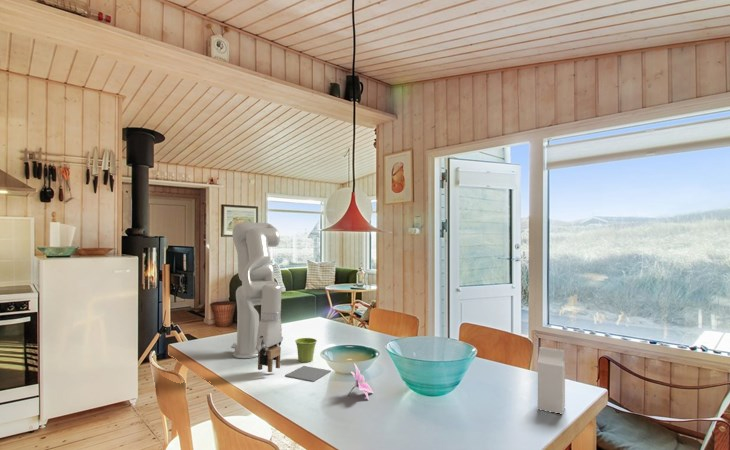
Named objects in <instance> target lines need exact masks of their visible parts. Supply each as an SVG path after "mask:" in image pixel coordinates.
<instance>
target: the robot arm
mask: <svg viewBox="0 0 730 450" xmlns="http://www.w3.org/2000/svg"><path fill="white" fill-rule="evenodd" d="M280 237H281V235H280V233H279V231H278V229H277V228H276V227H275V226H273V225H272V224H270V223H268V222H248V221H246V222H245V221H244V222H238V223H236V224H234V226H233V227H232V241H233V243H234V247H235V249H236V253H237V273H238V274H237V275H238V278H239V280H240V281H241V284H242V285H240V286H238V287H237V289H236V290H235V300H236V310H237V311H236V312H237V313H236V314H237V319H236V321H237V323H236V324H237V326H236V342H233V344H232V345H231V346H230V348H231V349H234V351H233V352H232V357H233V358H238V359H253V358H258V352H259V354H260V364H261V365H262V366H266V365H267V362H268V355H266V354H267V351H268V347H270V346H277V347H281V345H282V342H283V340H284V337H283V335H282V334H283V333H282V329H283V328H282V318H281V314H282V312H281V311H282V286H281V285H280V284H278V282H277V281H276V280H275V270H274V266H273V263H271V255H270V254H271V253H270V251H269V248H276V247H277V246H278V245H279V244H280V243H281V242H280V241H281V238H280ZM255 306H261V307H260V314H259V312H258V311H257V309H256V308H255ZM263 348H265V351H264V350H263ZM273 361H276V357H275V358H273ZM266 367H267V366H266Z"/></svg>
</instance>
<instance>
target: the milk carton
mask: <svg viewBox="0 0 730 450" xmlns="http://www.w3.org/2000/svg"><path fill="white" fill-rule="evenodd" d="M538 348H539V349H538V350H539V351H538V358H537V359H538V360H537V410H538V409H541V410H540V411H542V410H546V411H545V412H547V411H551V412H557V413H561V414H562V415H563V414H564V411H565V408H566V358H565V351H564V350H563V349H556V348H550V347H544V346H543V347H541V346H539V347H538ZM564 407H565V408H564ZM551 412H550V413H551Z"/></svg>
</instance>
